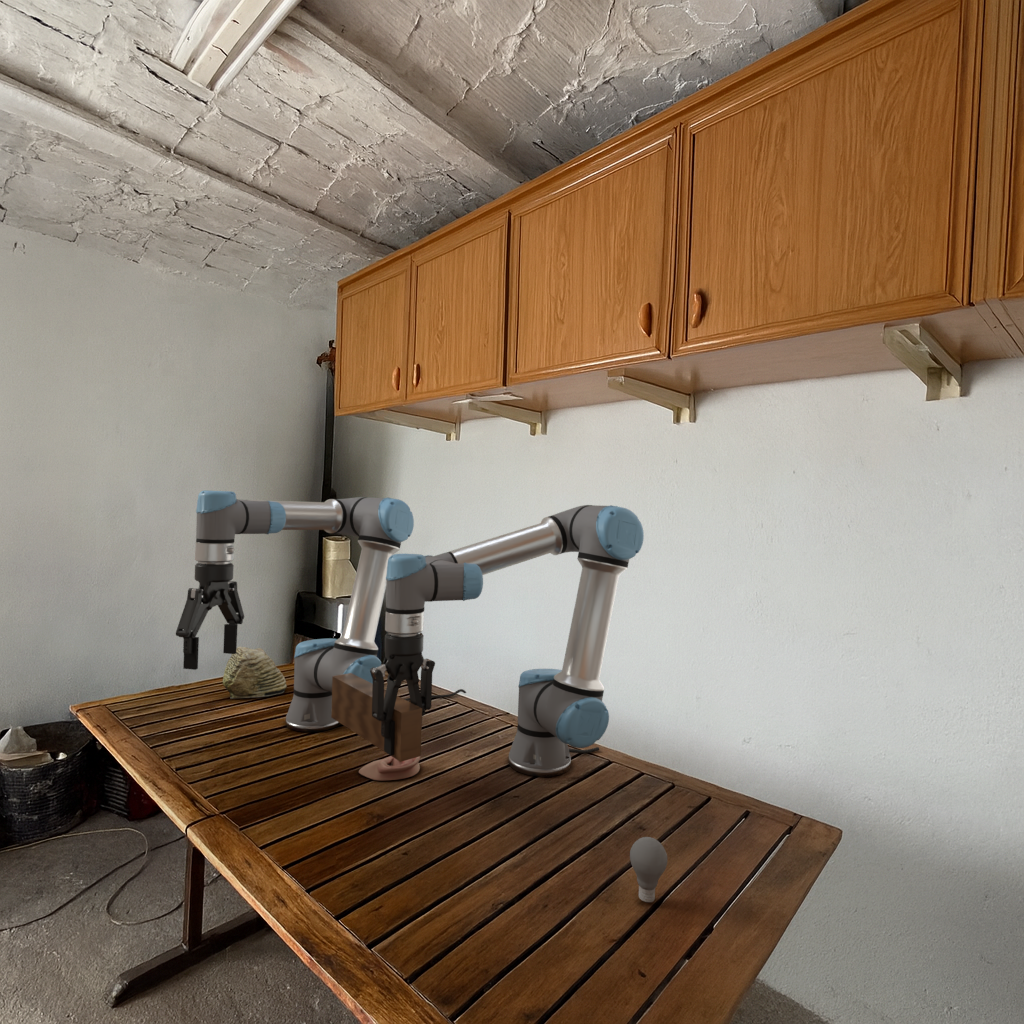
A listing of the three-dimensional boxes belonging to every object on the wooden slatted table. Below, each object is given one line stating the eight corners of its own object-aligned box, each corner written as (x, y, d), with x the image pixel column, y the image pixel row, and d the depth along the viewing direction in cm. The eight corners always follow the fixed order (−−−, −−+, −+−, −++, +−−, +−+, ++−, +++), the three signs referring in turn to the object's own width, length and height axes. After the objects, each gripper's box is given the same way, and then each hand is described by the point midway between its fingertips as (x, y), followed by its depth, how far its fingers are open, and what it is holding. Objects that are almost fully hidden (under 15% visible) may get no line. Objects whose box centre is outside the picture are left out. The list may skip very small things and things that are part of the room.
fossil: (218, 695, 195) (220, 647, 195) (278, 685, 208) (279, 640, 207) (228, 703, 189) (230, 653, 188) (289, 692, 201) (290, 645, 201)
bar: (331, 717, 144) (332, 676, 144) (350, 713, 147) (351, 672, 147) (400, 761, 121) (401, 712, 121) (420, 756, 124) (422, 708, 124)
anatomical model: (353, 759, 143) (374, 741, 154) (352, 777, 143) (373, 757, 154) (408, 767, 140) (426, 748, 152) (408, 785, 140) (425, 764, 152)
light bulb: (623, 888, 106) (626, 829, 106) (658, 888, 107) (661, 829, 106) (633, 912, 100) (636, 849, 100) (670, 911, 101) (673, 849, 100)
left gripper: (192, 569, 123) (189, 677, 123) (262, 558, 148) (258, 648, 148) (157, 566, 124) (154, 674, 125) (232, 556, 149) (229, 646, 149)
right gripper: (372, 641, 116) (369, 767, 117) (452, 631, 128) (449, 745, 128) (354, 634, 122) (351, 754, 123) (432, 624, 133) (428, 734, 134)
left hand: (211, 660), depth 136 cm, fingers open, 13 cm apart
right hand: (401, 749), depth 125 cm, fingers closed on bar, 5 cm apart
